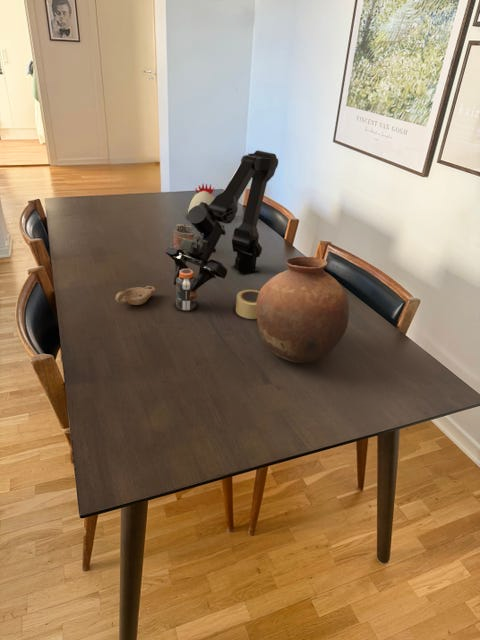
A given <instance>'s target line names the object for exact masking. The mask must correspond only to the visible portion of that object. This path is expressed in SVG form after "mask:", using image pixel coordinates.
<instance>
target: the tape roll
mask: <svg viewBox="0 0 480 640" xmlns="http://www.w3.org/2000/svg"><path fill="white" fill-rule="evenodd" d="M259 292H260V290H256V289H243V290H241V291H239V292H238V293H237V294H236V301H235V313H236V314H237V315H238V316H240V317H241V318H243V319H249V320H257V312H256V303H257V297H258V294H259Z"/></svg>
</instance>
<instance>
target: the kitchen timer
mask: <svg viewBox="0 0 480 640" xmlns="http://www.w3.org/2000/svg"><path fill="white" fill-rule="evenodd" d="M214 190H215V187H213V188H212V184H210V185H209V187H208V184H207V183H205V185H204V183H202V185H201V186H200V185H198V189H197V188H196V187H195V192H196V193H195V195H194V196H193V197H192V199H191V201H190V204H189V207H188V210H187V213H188V212H189V210H191V209H192V208H193V207H195V206H197V205H199V204H200V203H201V202H204V203H207V204H208V205H209V204H211V202H212V201H213V200H214V198H215V197H214V195H213V192H214Z"/></svg>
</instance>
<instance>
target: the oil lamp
mask: <svg viewBox="0 0 480 640" xmlns="http://www.w3.org/2000/svg"><path fill="white" fill-rule="evenodd" d="M155 292H156V288H155V287H154V286H153V285H146V286H145V287H141V286H138V287H130V288H129V287H128V288H126V289H124V291H119V292H117V293H116V295H115V301H116V302H117V303H118V304H125V303H127V304H128V305H131V306H139V305H143V304H145V303H146V302H147V301H148V300H149V299H150V298H151V296H152V295H153V294H154V293H155ZM122 295H123V296H122ZM121 296H122V299H120V297H121Z"/></svg>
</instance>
